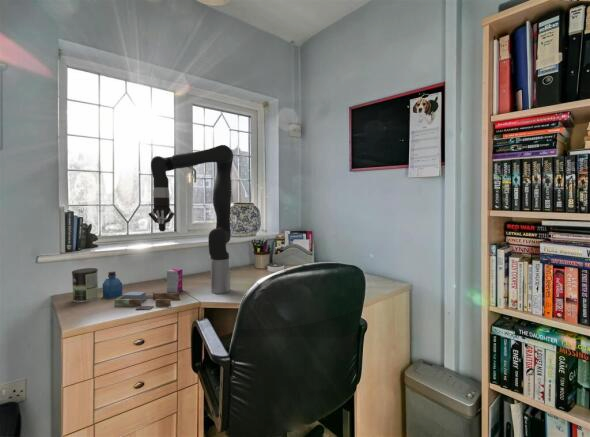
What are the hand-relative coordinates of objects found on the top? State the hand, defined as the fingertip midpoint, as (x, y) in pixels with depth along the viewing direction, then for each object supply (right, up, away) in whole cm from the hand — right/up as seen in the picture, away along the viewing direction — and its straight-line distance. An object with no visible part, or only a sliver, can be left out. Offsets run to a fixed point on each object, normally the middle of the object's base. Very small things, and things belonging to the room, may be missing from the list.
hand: (162, 231), depth 155 cm
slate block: (-9, -33, -10) cm, 36 cm away
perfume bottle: (-24, -33, -2) cm, 40 cm away
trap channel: (-1, -33, -12) cm, 35 cm away
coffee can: (-34, -33, -7) cm, 48 cm away
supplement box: (+4, -32, +5) cm, 33 cm away
